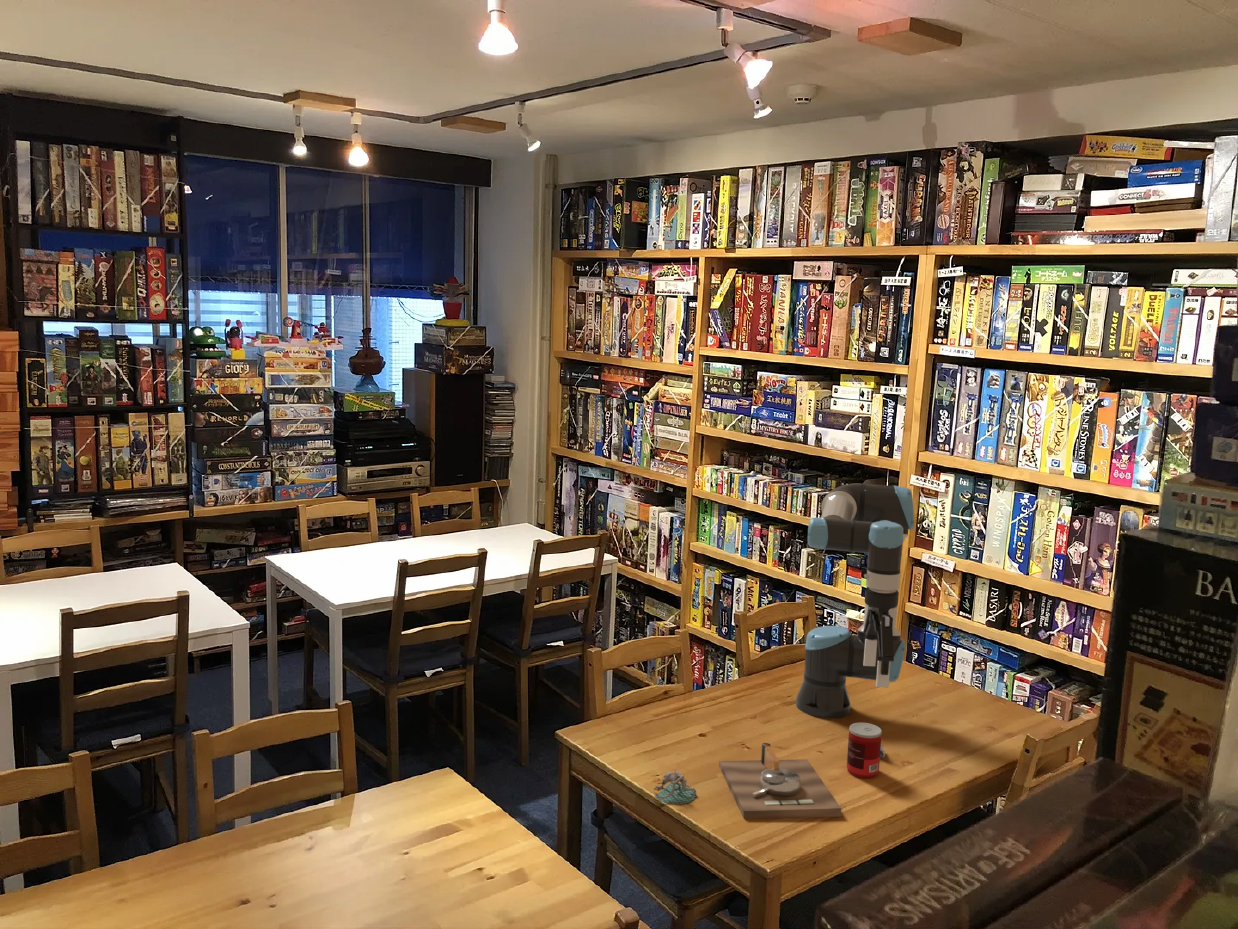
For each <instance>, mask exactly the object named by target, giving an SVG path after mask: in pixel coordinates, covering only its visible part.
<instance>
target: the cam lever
mask: <svg viewBox="0 0 1238 929" xmlns="http://www.w3.org/2000/svg"><path fill="white" fill-rule="evenodd" d="M760 758H761V759H760V760H761V762H762V763H764V765H765V766H766V768H767V769H766V770H764V771H763V772H762V773H761V779H760V787H761V789H762V790H760V791H757V792H754V793H752V795H753V796H754V797H755V796H758V795H761V794H763V793H768V794H770V795H774V796H779V797H790V796H794V795H796V794H798V793H799V791H800V780H801V779H800V776H799V775H798V774H796V773H795V772H793V771H790V770H787V769H782V768H779V760H780V759H778V757H777V756H776V754H775V752H774V751H773V748H772V747H771V743H768V742H763V743H762V744H761V757H760Z"/></svg>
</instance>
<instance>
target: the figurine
mask: <svg viewBox="0 0 1238 929" xmlns="http://www.w3.org/2000/svg"><path fill="white" fill-rule="evenodd" d="M661 781H662V782H656V783H657V785H658V786H657V785H655V787H654V788H653V789H654V790H656V791H658V790H660V791H659V792H658V793H657V792H655V791H653V796H654V798H655V799H656V800H657V801H660V802H661V803H664V804H668V805H676V806H678V805H679V806H680V805H687V804H690V803H692V802H694V801H695V800H696V799H697V789H695V788H694V787H691V786H688V785H687V779H686V778H685V775H683V774H681V773H680V772H678V770H677V769H676V768H675V769H674V772H672V771H668V772H667V773H666V774H664V775H663V777H662V778H661ZM679 782H680V783H679ZM668 783H669V784H668ZM665 785H666V786H665ZM664 786H665V787H664Z"/></svg>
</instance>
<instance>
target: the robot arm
mask: <svg viewBox="0 0 1238 929" xmlns="http://www.w3.org/2000/svg"><path fill="white" fill-rule="evenodd" d="M913 500H914V499H913V493H912V491H911V489H910V488H908V487H905V486H898V485H887V484H886V485H885V484H884V485H883V484H871V483H869V484H868V483H860V482H859V483H857V482H856V483H854V482H853V483H848V484H843V485H840V486H838V487H835V488H834V489H832V490H830V491H829V492H828V493H827V494H826V495H825V496H824V497H823V499H822V501H821V505H820V506H821V507H820V508H821V510H820V511H821V515H820V516H819V517H811V518H810V520H809V521H808V528H807V544H808V546H809V547H810V548H816V549H819V550H831V551H832V550H833V551H842V552H843V551H844V552H854V553H865V554H867V566H866V567H867V568H866V573H864V574H863V577H864V578H865V580H866V581H865V586H866V587H865V590H864V591H865V592H864V615H863V617H864V618H863V624H862V625H861V626H859V628H857V633H856V634H857V635H856V634H855V635H854V634H851V633H850V631H849V629H848V628H847V627H844V626H843V627H842V626H840V625H824V626H823V625H822V626H818V627H815V628H812V629H811V630H809V631H808V633H807V635H806V642H805V645H804V649H805V654H804V655H805V657H804V658H805V659H804V668H803V671H804V672H803V681H802V682H801V686H800V688H799V690H798V692H797V694H796V698H795V707H796V708H797V709H798V710H799V711H801V713H803V714H806V715H809V716H812V717H815V718H820V719H828V720H829V719H830V720H832V719H834V720H835V719H842V718H845V717H847V716H849V715H850V713H851V707H852V706H851V701H850V700H851V699H850V696H849V692H848V689H847V684H846V682H847V678H854V679H861V680H862V679H863V680H870V681H875V687H876V688H883V689H884V688H885V689H888V688H889V687H890V686H889V684H890V683H894V682H896V681H897V680H898V679H899V677H900V674H901V670H902V667H903V666H902V665H903V661H904V657H905V650H906V641H904V640H903V639H901V638H902V635H901V633H900V631H899V630H898V628H897V614H898V613H897V612H898V604H899V594H900V592H899V590H900V586H901V585H900V584H901V564H902V556H903V544H904V540H905V539H906V538H907V537H908V536H909V530H910V531H912V530H914V529H915V513H914V501H913Z"/></svg>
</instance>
